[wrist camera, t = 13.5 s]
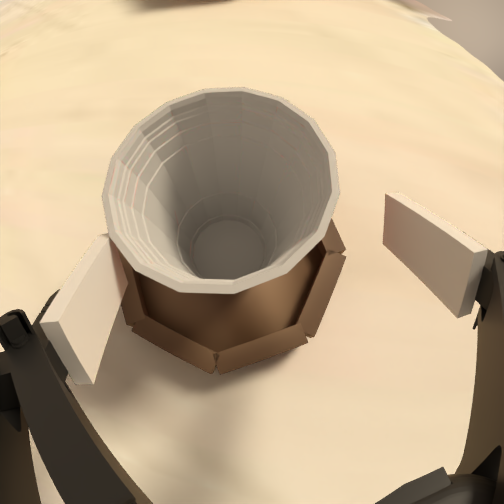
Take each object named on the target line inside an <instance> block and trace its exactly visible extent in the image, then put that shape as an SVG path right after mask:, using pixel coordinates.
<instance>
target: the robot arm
mask: <svg viewBox="0 0 504 504" xmlns="http://www.w3.org/2000/svg"><path fill="white" fill-rule="evenodd" d="M383 245H385V246H386V247H387V248H388V249H389V250H390V251H391V252H392V253H393V254H394V255H395V256H396V257H397V258H398V259H399V260H400V261H401V262H402V263H404V264H405V265H406V266H407V267H408V268H409V269H410V270H411V271H412V272H413V273H414V274H415V275H416V276H417V277H418V278H419V279H420V280H421V281H422V282H423V283H424V284H425V285H426V286H427V287H428V288H429V289H430V290H431V291H432V292H433V293H434V294H435V295H436V296H437V297H438V298H439V300H440V301H441V302H442V303H443V304H444V305H445V306H446V307H447V308H448V309H449V310H450V311H451V312H452V313H453V314H454V315H455V316H456V318H460V317H462V316H465V315H468V314H471V311H472V308H473V305H474V302H475V300H476V301H477V302H478V303H479V304H480V308H479V311H478V314H477V317H476V320H475V323H474V326H473V329H475V328H476V326H477V325H478V341H477V362H476V375H475V385H474V394H473V403H472V410H471V417H470V423H469V429H468V434H467V439H466V444H465V449H464V454H463V457H462V460H461V463H460V465H459V467H458V468H457V470H456V472H455V474H451V475H447V473H446V471H445V469H444V467H441V468H439V469H437V470H435V471H433V472H431V473H429V474H427V475H424V476H422V477H420V478H418V479H415V480H413V481H411V482H408V483H406V484H404V485H402V486H401V487H399V488H398V489H396V490H395V491H394V492H392V493H391V494H389V495H388V496H386V497H385V498H383V499H381V500H380V501H378V502H377V503H375V504H504V251H500V252H496V253H495V254H494V253H493V252H492V251H490V250H489V249H487V248H486V247H485V246H483V245H482V244H480V243H479V242H477V241H476V240H474V239H473V238H471V237H470V236H469V235H467V234H466V233H464V232H463V231H461V230H459V229H458V228H456V227H455V226H453V225H452V224H450V223H449V222H447V221H445V220H444V219H442V218H441V217H439V216H437V215H436V214H434V213H433V212H431V211H429V210H428V209H426V208H424V207H423V206H421V205H419V204H418V203H416V202H414V201H413V200H411V199H409V198H408V197H406V196H404V195H402V194H401V193H399V192H393V193H385V215H384V232H383ZM127 285H128V281H127V278H126V275H125V272H124V269H123V266H122V263H121V260H120V256H119V253H118V250H117V246H116V245H115V243H114V242H113V241H112V239H111V238H110V237H109V234H102V235H98V236H97V238H96V239H95V240H94V242H93V243H92V244H91V246H90V247H89V248H88V250H87V251H86V253H85V254H84V255H83V257H82V258H81V260H80V261H79V262H78V264H77V265H76V267H75V268H74V270H73V271H72V273H71V274H70V275H69V277H68V278H67V280H66V281H65V283H64V284H63V286H62V287H61V289H59V290H57V291H56V292H55V293H54V294H53V295H52V296H51V297H50V298H49V299H48V301H47V302H46V304H45V306H44V307H43V309H42V310H41V313H39V315H38V317H37V318H36V320H35V321H34V323H33V325H31V324H30V322H29V320H28V318H27V316H26V314H25V312H24V311H23V310H20V309H16V310H12V311H10V312H7V313H6V314H4V315H3V316H1V317H0V343H1V345H2V347H3V348H4V350H5V351H4V352H0V504H41V501H40V496H39V492H38V487H37V483H36V477H35V472H34V466H33V460H32V454H31V447H30V439H29V430H30V432H31V435H32V437H33V440H34V442H35V444H36V447H37V449H38V451H39V454H40V456H41V458H42V460H43V462H44V464H45V467H46V469H47V471H48V473H49V475H50V477H51V479H52V481H53V483H54V485H55V487H56V488H57V490H58V492H59V494H60V496H61V498H62V499H63V501H64V503H65V504H153V503H152V502H151V501H150V500H149V498H148V497H147V496H146V495H145V494H144V493H143V492H142V490H141V489H140V488H139V487H138V486H137V485H136V483H135V482H134V481H133V480H132V479H131V477H130V476H129V475H128V474H127V472H126V471H125V470H124V469H123V467H122V466H121V465H120V463H119V462H118V461H117V460H116V458H115V457H114V456H113V454H112V453H111V451H110V450H109V449H108V447H107V446H106V445H105V443H104V442H103V440H102V439H101V437H100V436H99V435H98V433H97V432H96V430H95V429H94V427H93V426H92V424H91V423H90V421H89V420H88V418H87V416H86V415H85V413H84V412H83V410H82V409H81V407H80V405H79V404H78V402H77V400H76V399H75V397H74V395H73V394H72V392H71V390H70V388H69V387H68V385H67V384H66V382H65V380H66V377H67V375H68V374H69V375H70V377H71V378H72V380H73V382H74V383H75V385H94V382H95V379H96V375H97V372H98V369H99V366H100V362H101V359H102V356H103V353H104V350H105V347H106V344H107V341H108V338H109V335H110V332H111V329H112V326H113V323H114V320H115V318H116V315H117V312H118V309H119V306H120V304H121V301H122V298H123V296H124V293H125V290H126V288H127ZM28 427H29V430H28Z"/></svg>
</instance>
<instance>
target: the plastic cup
mask: <svg viewBox="0 0 504 504" xmlns="http://www.w3.org/2000/svg"><path fill="white" fill-rule="evenodd" d="M339 195H340V187H339V178H338V169H337V161H336V154H335V151H334V149H333V148H332V146H331V145H330V143H329V141H328V140H327V138H326V137H325V135H324V134H323V132H322V131H321V129H320V127H319V126H318V124H317V123H316V121H315V120H314V119H313V118H311V117H310V116H309V115H307V114H306V113H304V112H303V111H302V110H300V109H299V108H297V107H296V106H294V105H293V104H291V103H290V102H288V101H287V100H285V99H284V98H282V97H279V96H276V95H272V94H269V93H265V92H261V91H258V90H254V89H250V88H246V87H231V88H210V89H202V90H199V91H196V92H193V93H190V94H187V95H185V96H182V97H179V98H176V99H173V100H171V101H168V102H166V103H164V104H163V105H162V106H160V107H159V108H157V109H156V110H155V111H153V112H152V113H151V114H149V115H148V116H146V117H145V118H144V119H142V120H141V121H140V122H139V123H137V124H136V125H135V126H134V127H133V128H132V129H131V131H130V132H129V134H128V135H127V136H126V138H125V139H124V141H123V142H122V143H121V145H120V146H119V148H118V149H117V151H116V152H115V154H114V155H113V156H112V158H111V161H110V165H109V169H108V173H107V177H106V181H105V185H104V189H103V193H102V201H103V207H104V212H105V218H106V223H107V229H108V234H109V237H110V238H111V239H112V241H113V242H114V243H115V245H116V246H117V247H118V249H119V250H120V251H121V253H122V254H123V255H124V257H125V258H126V259H127V261H128V262H129V263H130V264H131V266H132V267H133V268H134V270H135V271H137V272H139V273H141V274H143V275H145V276H147V277H149V278H151V279H153V280H155V281H157V282H159V283H161V284H163V285H165V286H167V287H169V288H172V289H174V290H176V291H178V292H186V293H218V294H235V293H238V292H241V291H243V290H246V289H248V288H251V287H254V286H256V285H259V284H261V283H264V282H266V281H269V280H272V279H274V278H277V277H279V276H282V275H284V274H287V273H288V272H289V271H290V270H291V269H292V268H293V267H294V266H295V265H296V264H297V263H298V262H299V261H300V260H301V259H302V258H303V257H304V256H305V255H306V254H307V253H308V252H309V251H310V250H311V249H312V248H313V247H314V246H315V245H316V244H317V243H318V242H319V241H320V240H321V239H322V238H323V237H324V236H325V234H326V231H327V228H328V226H329V223H330V220H331V217H332V215H333V212H334V209H335V206H336V204H337V201H338V198H339Z"/></svg>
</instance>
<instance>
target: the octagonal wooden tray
mask: <svg viewBox="0 0 504 504" xmlns="http://www.w3.org/2000/svg"><path fill="white" fill-rule="evenodd" d="M117 250H118V253H119V256H120V260H121V263H122V266H123V269H124V272H125V275H126V278H127V281H128V285H127V288H126V290H125V293H124V296H123V298H122V301H121V305H122V309H123V313H124V317H125V321H126V324H127V325H130V326H134V327H133V329H132V332H134V333H136V334H137V335H139V336H141V337H142V338H144V339H146V340H148V341H149V342H151V343H153V344H155V345H157V346H158V347H160V348H162V349H164V350H166V351H167V352H169V353H171V354H173V355H175V356H177V357H179V358H180V359H182V360H184V361H186V362H188V363H190V364H192V365H194V366H196V367H198V368H200V369H202V370H204V371H206V372H208V373H210V374H212V373H213V372H214V370H215V368H216V366H217V368H218V371H219V374H220V375H221V374H224V373H227V372H230V371H233V370H236V369H239V368H242V367H244V366H247V365H250V364H253V363H256V362H259V361H261V360H264V359H267V358H270V357H272V356H275V355H278V354H280V353H283V352H286V351H288V350H291V349H293V348H296V347H299V346H301V345H304V344H306V343H308V340H307V338H306V336H307V337H310V338H312V337H314V336H315V334H316V332H317V329H318V327H319V325H320V322H321V320H322V317H323V315H324V313H325V310H326V308H327V305H328V303H329V300H330V298H331V295H332V293H333V290H334V288H335V285H336V283H337V280H338V277H339V275H340V272H341V269H342V267H343V264H344V261H345V259H346V256H344V255H341V254H342V253H343V252H344V251H345V250H346V248H345V246H344V244H343V242H342V240H341V237H340V235H339V233H338V231H337V229H336V227H335V225H334V222H333V220H332V218H331V220H330V223H329V226H328V228H327V231H326V234H325V236H324V237H323V238H322V239H321V240H320V241H319V242H318V243H317V244H316V245H315V246H314V247H313V248H312V249H311V250H310V251H309V252H308V253H307V254H306V255H305V256H304V257H303V258H302V259H301V260H300V261H299V262H298V263H297V264H296V265H295V266H294V267H293V268H292V269H291V270H290V271H289V272H288V273H287V274H284V275H282V276H279V277H277V278H274V279H272V280H269V281H266V282H264V283H261V284H259V285H256V286H254V287H251V288H248V289H246V290H243V291H241V292H238V293H235V294H218V293H186V292H178V291H176V290H174V289H172V288H169V287H167V286H165V285H163V284H161V283H159V282H157V281H155V280H153V279H151V278H149V277H147V276H145V275H143V274H141V273H139V272H137V271H135V270H134V268H133V267H132V266H131V264H130V263H129V262H128V261H127V259H126V258H125V257H124V255H123V254H122V253H121V251H120V250H119V249H118V247H117Z"/></svg>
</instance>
